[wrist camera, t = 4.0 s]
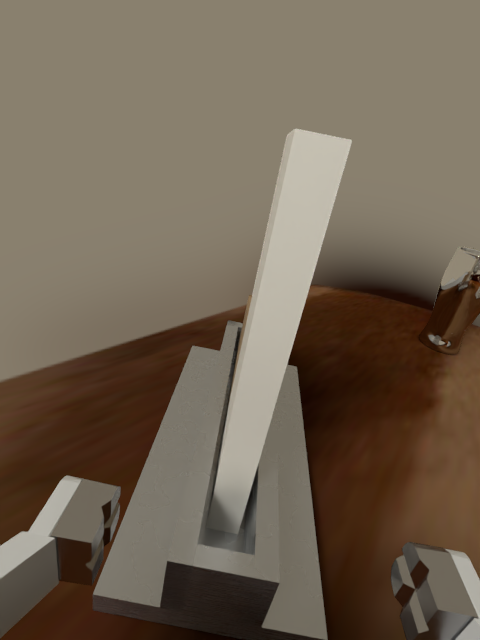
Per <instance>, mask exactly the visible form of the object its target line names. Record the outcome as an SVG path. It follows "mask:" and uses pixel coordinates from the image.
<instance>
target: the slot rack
mask: <svg viewBox="0 0 480 640" xmlns="http://www.w3.org/2000/svg"><path fill="white" fill-rule="evenodd" d="M242 326H243V323H238V322H233V321H228V323H227V327H226V331H225V335H224V339H223V343H222V347H221V350H220V351H216V350H211V349H207V348H202V347H197V346H192V348H191V351H190V353H189V356H188V358H187V361H186V363H185V366H184V368H183V371H182V373H181V376H180V378H179V381H178V383H177V386H176V388H175V391H174V393H173V396H172V398H171V401H170V403H169V406H168V408H167V411H166V413H165V416H164V418H163V421H162V423H161V426H160V428H159V431H158V433H157V436H156V438H155V441H154V443H153V446H152V448H151V451H150V453H149V456H148V458H147V461H146V463H145V466H144V468H143V471H142V473H141V476H140V478H139V481H138V483H137V486H136V488H135V491H134V493H133V496H132V498H131V501H130V503H129V506H128V508H127V511H126V513H125V516H124V518H123V521H122V523H121V526H120V528H119V531H118V533H117V536H116V538H115V541H114V543H113V546H112V548H111V551H110V553H109V556H108V558H107V561H106V563H105V566H104V568H103V571H102V573H101V576H100V578H99V581H98V583H97V586H96V588H95V591H94V593H93V610H95V611H100V612H105V613H111V614H116V615H121V616H126V617H131V618H136V619H141V620H146V621H152V622H157V623H162V624H167V625H172V626H177V627H182V628H187V629H193V630H198V631H203V632H208V633H213V634H218V635H223V636H228V637H234V638H239V639H244V640H328V639H327V630H326V621H325V612H324V603H323V594H322V585H321V576H320V567H319V559H318V550H317V541H316V532H315V523H314V514H313V505H312V496H311V488H310V479H309V470H308V461H307V452H306V443H305V434H304V425H303V416H302V408H301V399H300V390H299V381H298V372H297V367H296V366H291V365H287V367H286V370H285V374H284V377H283V380H282V384H281V387H280V391H279V394H278V398H277V401H276V405H275V408H274V411H273V415H272V418H271V422H270V425H269V429H268V432H267V436H266V439H265V443H264V446H263V449H262V453H261V456H260V460H259V463H258V467H257V470H256V474H255V477H254V480H253V484H252V487H251V491H250V494H249V498H248V501H247V505H246V508H245V511H244V515H243V518H242V522H241V525H240V529H239V532H238V534H234V533H229V532H224V531H219V530H214V529H209V528H206V525H207V519H208V513H209V508H210V502H211V496H212V490H213V485H214V479H215V473H216V467H217V462H218V456H219V450H220V444H221V439H222V433H223V427H224V421H225V415H226V410H227V404H228V398H229V392H230V387H231V381H232V375H233V370H234V364H235V359H236V354H237V349H238V345H239V340H240V335H241V330H242Z"/></svg>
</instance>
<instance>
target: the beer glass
mask: <svg viewBox="0 0 480 640" xmlns="http://www.w3.org/2000/svg"><path fill="white" fill-rule="evenodd" d="M479 314H480V250H478V249H474V248H469V247H458V249H457V251H456V253H455V254H454V256H453V258H452V260H451V262H450V263H449V265H448V267H447V269H446V271H445V273H444V275H443V278H442V280H441V283H440V286H439V289H438V292H437V296H436V300H435V304H434V308H433V312H432V315H431V317H430V319H429V321H428V323H427V325H426V326H425V327H424V329H423V330H422V331H421V333H420V334H419V340H420V341H421V342H422V343H423V344H424V345H426V346H427V347H429V348H431V349H433V350H435V351H438V352H441V353H444V354H450V355H454V354H457V353H459V351H460V347H461V344H462V340H463V337H464V335H465V333H466V331H467V330H468V328H469V326H470V325H471V324H472V323H473V321H474V320H475V319H476V318H477V316H478V315H479Z"/></svg>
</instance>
